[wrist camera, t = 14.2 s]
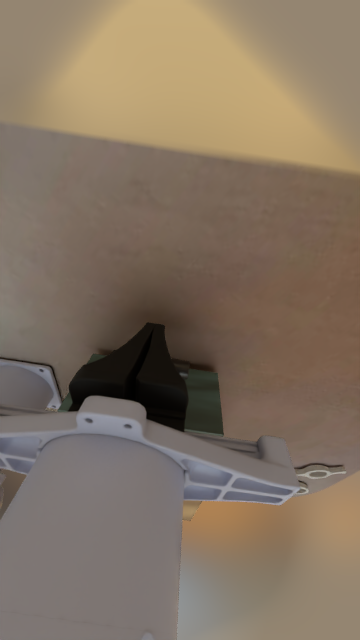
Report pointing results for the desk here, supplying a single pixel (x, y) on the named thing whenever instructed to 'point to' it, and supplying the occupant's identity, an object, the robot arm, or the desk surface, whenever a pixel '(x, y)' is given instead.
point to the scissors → (316, 474)
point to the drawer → (190, 399)
